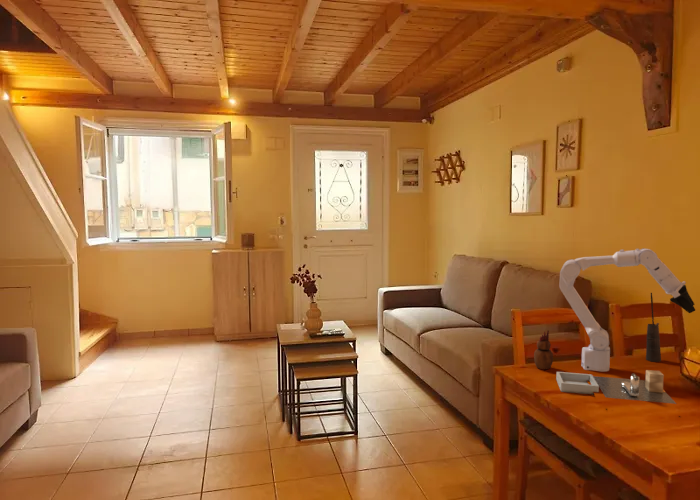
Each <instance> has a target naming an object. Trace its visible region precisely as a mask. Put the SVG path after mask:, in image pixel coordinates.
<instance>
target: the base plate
mask: <svg viewBox="0 0 700 500" xmlns="http://www.w3.org/2000/svg"><path fill="white" fill-rule="evenodd" d="M592 376H593V378H594V379H595V381H596V382H597V384H598V386H599V390H601V392H602V394H603V395H604V397H605V398H609V399H610V398H611V399H619V400H620V399H621V400H629V401H641V402H652V403H653V402H654V403H664V404H675V405H677V403H676V402H675V400H674V399H673V398H672V397H671V396H670V395H669V394H668V393H667V392H666V391H665V389H663V393H662V392H650V391H648V390H647V388H646V387H645V381H646V379H639V396H631V395H630V394H629V393H628V392H627V390H626V389H625V388H624V387H622V386H621V382H630V381H631V378H630V379H629V378H622V377H621V378H619V377H606V376H595V375H592Z"/></svg>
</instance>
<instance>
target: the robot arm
mask: <svg viewBox="0 0 700 500" xmlns="http://www.w3.org/2000/svg"><path fill="white" fill-rule="evenodd" d="M604 265H605V266H606V265H615V266H616V267H617V268H622V267H623V268H625V267H635V266H639V265H642V266H644V267H645V269H646V270H647V272H648V274H649V275H650V276H651V277H652V278H653V280H655V282H656V284H658V285H659V286H660V287H661V288H662V290H663V291H664V293H665V294H666V295H670V296H672V297H671V298H669V301H670V302H671V303H673V304H676V305H677V306H679V307H680V308H682V309H683V310H685V312H686V313H688V314H691V313H694V312H695V311H696V308H695V307H694V306H695V302H694V301H693V299H692V297H691V296H690V294H689V291H688V289H687V285H686V283H687V282H686V281H685V280H684V281H682V282H681V281H680V280H679V278H678V277H677V276H675V274H674V273H673V272H672V270H671V269H670V268H669V267H668V266H667V265H666V264H665V263H664V262H662V260H661V259H660V258H659V257H658V254H657V253H656V252H655V251H653V250H652V249H650V248H641V249H640V248H635V249H634V250H633V249H632V250H625V249H619V251H615V252H614V253H613V255H600V256H583V257H577V258H575V259H573V258H571V259H568V260H566V261H565V262H564V263H563V265H562V267H561V269H560V271H559V284H558V285H559V286H558V287H559V290H560V291H561V293H562V294H563V296H564V298H565V299H566V301H567V303H568V304H569V306H570V307H571V309H572V310H573V312H574V313H575V315H576V316H577V317H578V319H579V321H580V322H581V324H582V326H583V327H584V329H585V331H586V333H587V336H588V338H589V341H590V342H589V343H590V344H588V346H584V347H582V348H581V364H580V365H581V366H580V367H582V368H583V370H585V371H596V372H604V373H605V372H609V371H610V361H611V359H610V358H611V357H610V356H611V355H610V354H611V347H610V346H609V345H610V339H609V338H610V335H609V333H608V331H607V330H605V329H604V328H603V327H601V325H600V324H599V322H598V321H596V319H595V317H594V316H593V314H592V313H591V311H590V309H589V308H588V306H587V305H586V303H585V302H584V300H583V299H582V297H581V296H580V294H579V293H578V291H577V290H576V288H575V287H574V284H575V281H576V279H577V278H578V276H579V275H580V273H581V270H582V272H584V271H586V270H587V269H588V268H590V267H597V266H604Z"/></svg>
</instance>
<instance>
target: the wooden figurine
mask: <svg viewBox="0 0 700 500" xmlns="http://www.w3.org/2000/svg"><path fill="white" fill-rule="evenodd" d="M549 332H550V330H547V332H546V331H544V332H543V334H541V336H540V337H539V340H537V341H536V349H535V350H534V353H533V360H534V364H535V367H536V368H538V369H540V370H549V369H550V368H551V367H552V365H553V363H554V354H553V352H552V350H551V342H550V340H549V339H550V338H549V335H550V334H549Z"/></svg>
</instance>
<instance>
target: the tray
mask: <svg viewBox="0 0 700 500" xmlns="http://www.w3.org/2000/svg"><path fill="white" fill-rule="evenodd" d="M593 376H594V375H593V374H590V373H589V374H588V373H578V372H577V373H576V372H567V371H566V372H564V371H556V376H555V377H556V378H555V380H556V382H557V385H558V388H559V391H560V392H563V393H571V394H573V393H574V394H583V395H585V394H586V395H595V393H599V392H600V387H599V386H598V384H597V382H596V381H595V379H594V378H593ZM588 381H589V382H590V384H589V383H588Z"/></svg>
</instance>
